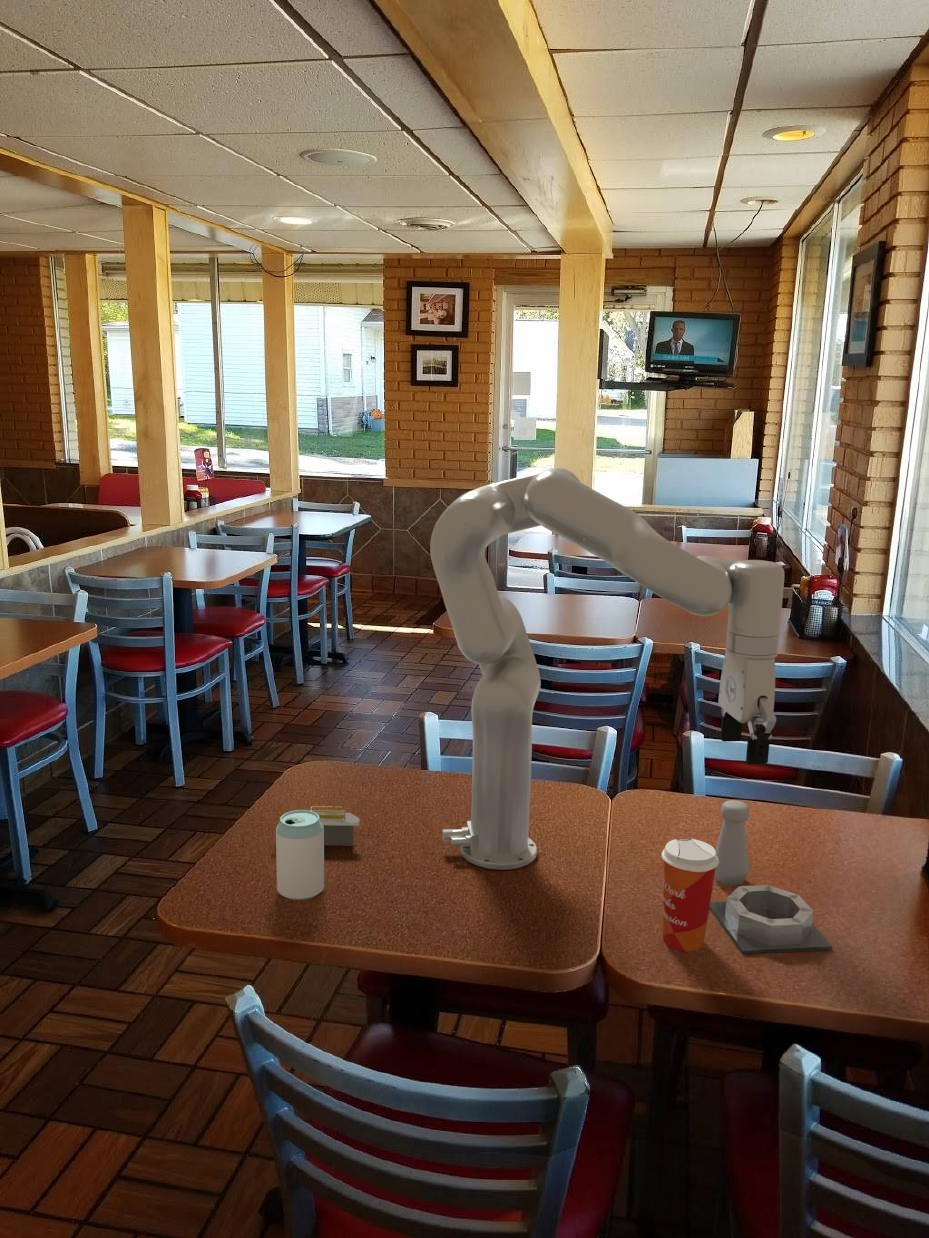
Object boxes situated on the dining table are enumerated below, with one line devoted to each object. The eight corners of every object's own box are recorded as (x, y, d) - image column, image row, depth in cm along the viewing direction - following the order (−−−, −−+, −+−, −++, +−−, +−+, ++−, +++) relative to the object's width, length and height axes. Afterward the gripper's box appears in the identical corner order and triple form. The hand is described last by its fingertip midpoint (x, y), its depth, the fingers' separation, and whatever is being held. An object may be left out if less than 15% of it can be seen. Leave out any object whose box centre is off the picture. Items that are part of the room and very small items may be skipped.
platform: (282, 828, 167) (281, 793, 166) (385, 830, 168) (386, 794, 166) (270, 861, 156) (269, 823, 154) (381, 862, 156) (382, 825, 155)
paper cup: (648, 926, 138) (655, 836, 135) (700, 925, 139) (708, 836, 136) (664, 957, 131) (671, 863, 127) (719, 956, 131) (728, 862, 128)
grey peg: (744, 872, 155) (752, 797, 152) (751, 890, 149) (759, 812, 147) (707, 870, 156) (714, 794, 153) (712, 887, 150) (720, 809, 147)
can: (311, 906, 141) (310, 830, 139) (268, 898, 143) (266, 823, 141) (331, 884, 148) (331, 811, 145) (290, 876, 150) (289, 804, 147)
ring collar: (742, 954, 132) (745, 930, 131) (707, 905, 144) (709, 883, 144) (831, 949, 134) (834, 926, 133) (789, 902, 146) (791, 880, 145)
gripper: (706, 630, 152) (699, 733, 155) (752, 659, 135) (742, 773, 139) (751, 629, 153) (743, 732, 156) (803, 658, 136) (792, 772, 140)
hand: (743, 751), depth 148 cm, fingers open, 9 cm apart
